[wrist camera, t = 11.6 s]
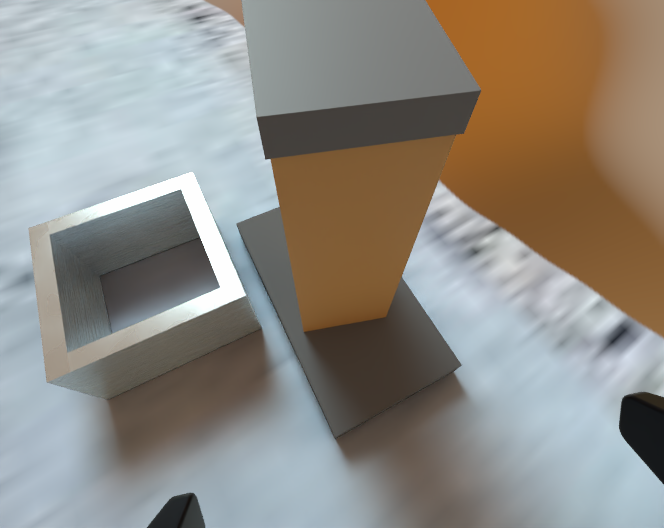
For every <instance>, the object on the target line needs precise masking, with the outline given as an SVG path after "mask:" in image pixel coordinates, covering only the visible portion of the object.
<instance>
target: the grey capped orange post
mask: <svg viewBox="0 0 664 528" xmlns="http://www.w3.org/2000/svg"><path fill="white" fill-rule="evenodd" d="M241 1H242V8H243V16H244V24H245V31H246V39H247V47H248V54H249V62H250V70H251V77H252V85H253V93H254V100H255V108H256V116H257V121H258V126H259V131H260V135H261V140H262V145H263V150H264V155H265V159H271V163H272V169H273V174H274V179H275V184H276V190H277V195H278V200H279V205H280V211H281V216H282V221H283V226H284V231H285V237H286V242H287V247H288V252H289V258H290V263H291V268H292V273H293V279H294V284H295V289H296V294H297V300H298V305H299V310H300V315H301V321H302V326H303V331H304V332H306V331H312V330H317V329H323V328H328V327H334V326H339V325H345V324H351V323H356V322H362V321H367V320H373V319H378V318H384V317H386V316H387V313H388V310H389V308H390V305H391V303H392V300H393V297H394V295H395V292H396V290H397V287H398V284H399V282H400V279H401V277H402V274H403V271H404V269H405V266H406V264H407V261H408V258H409V256H410V253H411V251H412V248H413V245H414V243H415V240H416V238H417V235H418V232H419V230H420V227H421V225H422V222H423V219H424V217H425V214H426V212H427V209H428V206H429V204H430V201H431V199H432V196H433V193H434V191H435V188H436V186H437V183H438V180H439V178H440V175H441V173H442V170H443V167H444V165H445V162H446V160H447V157H448V155H449V152H450V149H451V147H452V144H453V141H454V139H455V136H456V134H464V131H465V129H466V127H467V124H468V122H469V119H470V117H471V114H472V112H473V109H474V107H475V105H476V102H477V100H478V97H479V95H480V92H481V89H480V87H479V86H478V84H477V83H476V81H475V79H474V78H473V76H472V75H471V73H470V72H469V70H468V68H467V67H466V65H465V63H464V62H463V60H462V59H461V57H460V56H459V54H458V52H457V51H456V49H455V47H454V46H453V44H452V43H451V41H450V39H449V38H448V36H447V35H446V33H445V31H444V30H443V28H442V27H441V25H440V23H439V22H438V20H437V19H436V17H435V16H434V14H433V12H432V11H431V9H430V7H429V6H428V4H427V2H426V1H425V0H241Z"/></svg>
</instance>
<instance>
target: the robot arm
mask: <svg viewBox="0 0 664 528" xmlns="http://www.w3.org/2000/svg"><path fill="white" fill-rule="evenodd" d="M619 429H620V432H621V435H622V436H623V438H624V439H625V441H626V442H627V443H628V444H629V445H630V446H631V448H632V449H633V450H634V451H635V452H636V453H637V454H638V456H639V457H640V458H641V459H642V460H643V461H644V462H645V464H646V465H647V466H648V467H649V468H650V469H651V470H652V472H653V473H654V474H655V475H656V476H657V477H658V478H659V480H660V481H661V482H662V483H663V484H664V397H661V396H658V395H654V394H651V393H647V392H638V393H633V394H629V395H626V396H624V397H623V399H622V402H621V411H620V421H619ZM147 528H205V523H204V519H203V516H202V513H201V509H200V506H199V503H198V500H197V497H196V495H195V494H194V493H187V494H182V495H178V496H174V497H172V498H171V499H170V500H169V501H168V502H167V503H166V504H165V505H164V507H163V508H162V509H161V510H160V512H159V513H158V514H157V515H156V517H155V518H154V519H153V521H152V522H151V523H150V524H149V526H148V527H147Z"/></svg>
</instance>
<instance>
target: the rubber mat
mask: <svg viewBox="0 0 664 528" xmlns="http://www.w3.org/2000/svg"><path fill="white" fill-rule="evenodd" d="M237 227H238V229H239V232H240V235H241V237H242V239H243V241H244V243H245V246H246V248H247V250H248V252H249V254H250V256H251V258H252V261H253V263H254V265H255V267H256V269H257V271H258V274H259V276H260V278H261V280H262V282H263V284H264V286H265V289H266V291H267V293H268V295H269V297H270V299H271V302H272V304H273V306H274V308H275V310H276V312H277V314H278V317H279V319H280V321H281V323H282V325H283V327H284V329H285V332H286V334H287V336H288V338H289V340H290V342H291V345H292V347H293V349H294V351H295V353H296V355H297V357H298V360H299V362H300V364H301V366H302V368H303V370H304V373H305V375H306V377H307V379H308V381H309V383H310V385H311V388H312V390H313V392H314V394H315V396H316V398H317V401H318V403H319V405H320V407H321V409H322V411H323V413H324V416H325V418H326V420H327V422H328V424H329V426H330V428H331V431H332V433H333V435H334V437H335V439H336V438H338V437H339V436H341V435H343V434H345V433H346V432H348V431H350V430H352V429H353V428H355V427H357V426H359V425H360V424H362V423H364V422H366V421H367V420H369V419H371V418H373V417H374V416H376V415H378V414H380V413H381V412H383V411H385V410H387V409H388V408H390V407H392V406H394V405H395V404H397V403H399V402H401V401H402V400H404V399H406V398H408V397H409V396H411V395H413V394H415V393H416V392H418V391H420V390H422V389H423V388H425V387H427V386H429V385H430V384H432V383H434V382H436V381H437V380H439V379H441V378H443V377H444V376H446V375H448V374H450V373H451V372H453V371H455V370H456V369H457V368H459V367H460V366H461V363H460V362H459V360H458V359H457V358H456V356H455V355H454V353H453V352H452V350H451V349H450V347H449V346H448V344H447V343H446V341H445V340H444V338H443V337H442V336H441V334H440V333H439V331H438V330H437V328H436V327H435V325H434V324H433V322H432V321H431V319H430V318H429V316H428V315H427V314H426V312H425V311H424V309H423V308H422V306H421V305H420V303H419V302H418V300H417V299H416V297H415V296H414V294H413V293H412V292H411V290H410V289H409V287H408V286H407V284H406V283H405V281H404V280H403V278H402V277H401V279H400V282H399V284H398V287H397V290H396V292H395V295H394V297H393V300H392V303H391V305H390V308H389V310H388V313H387V316H386V317H384V318H378V319H373V320H367V321H362V322H356V323H351V324H345V325H339V326H334V327H328V328H323V329H317V330H312V331H306V332H304V331H303V326H302V321H301V315H300V310H299V305H298V300H297V294H296V289H295V284H294V279H293V273H292V268H291V263H290V258H289V252H288V247H287V242H286V237H285V231H284V226H283V221H282V216H281V211H280V207H278V208H275V209H273V210H270V211H268V212H265V213H263V214H260V215H257V216H255V217H252V218H250V219H247V220H244V221H242V222H239V223H237Z"/></svg>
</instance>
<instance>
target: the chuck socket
mask: <svg viewBox="0 0 664 528" xmlns="http://www.w3.org/2000/svg"><path fill="white" fill-rule="evenodd" d="M29 236H30V245H31V253H32V262H33V270H34V278H35V287H36V295H37V304H38V312H39V321H40V329H41V338H42V346H43V354H44V363H45V371H46V380H47V383H50V384H54V385H57V386H61V387H64V388H67V389H71V390H74V391H78V392H81V393H85V394H88V395H91V396H95V397H98V398H102V399H105V400H108V399H110V398H112V397H114V396H117V395H119V394H121V393H123V392H125V391H127V390H129V389H132V388H134V387H136V386H138V385H140V384H142V383H144V382H147V381H149V380H151V379H153V378H155V377H157V376H160V375H162V374H164V373H166V372H168V371H170V370H172V369H175V368H177V367H179V366H181V365H183V364H185V363H187V362H190V361H192V360H194V359H196V358H198V357H200V356H202V355H205V354H207V353H209V352H211V351H213V350H215V349H218V348H220V347H222V346H224V345H226V344H228V343H230V342H233V341H235V340H237V339H239V338H241V337H243V336H245V335H248V334H250V333H252V332H254V331H256V330H258V329H261V325H260V323H259V321H258V318H257V316H256V314H255V311H254V309H253V307H252V304H251V302H250V300H249V298H248V295H247V293H246V291H245V288H244V286H243V284H242V281H241V279H240V277H239V274H238V272H237V270H236V268H235V265H234V263H233V261H232V258H231V256H230V254H229V251H228V249H227V247H226V244H225V242H224V240H223V238H222V235H221V233H220V231H219V228H218V226H217V224H216V221H215V219H214V217H213V215H212V213H211V211H210V208H209V206H208V204H207V202H206V200H205V198H204V196H203V193H202V191H201V189H200V187H199V185H198V183H197V180H196V178H195V176H194V174H193V172H191V173H188V174H186V175H183V176H180V177H177V178H174V179H171V180H168V181H165V182H162V183H159V184H156V185H153V186H150V187H148V188H145V189H142V190H139V191H136V192H133V193H130V194H127V195H124V196H121V197H118V198H115V199H112V200H110V201H107V202H104V203H101V204H98V205H95V206H92V207H89V208H86V209H83V210H80V211H77V212H74V213H72V214H69V215H66V216H63V217H60V218H57V219H54V220H51V221H48V222H45V223H42V224H39V225H36V226H34V227H31V228H29ZM198 237H201V240H202V242H203V245H204V247H205V250H206V252H207V255H208V257H209V260H210V262H211V265H212V267H213V270H214V272H215V275H216V277H217V280H218V282H219V285H220V287H221V288H219V289H216V290H214V291H212V292H209V293H207V294H205V295H202V296H200V297H197V298H195V299H193V300H190V301H188V302H186V303H183V304H181V305H179V306H176V307H174V308H172V309H169V310H167V311H165V312H162V313H160V314H158V315H155V316H153V317H150V318H148V319H146V320H143V321H141V322H139V323H136V324H134V325H132V326H129V327H127V328H125V329H122V330H120V331H118V332H115V333H113V334H112V331H111V327H110V322H109V318H108V313H107V308H106V304H105V299H104V295H103V290H102V286H101V281H100V275H103V274H105V273H108V272H110V271H113V270H116V269H118V268H121V267H123V266H126V265H129V264H131V263H134V262H136V261H139V260H141V259H144V258H147V257H149V256H152V255H154V254H157V253H160V252H162V251H165V250H167V249H170V248H173V247H175V246H178V245H180V244H183V243H185V242H188V241H191V240H193V239H196V238H198Z"/></svg>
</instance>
